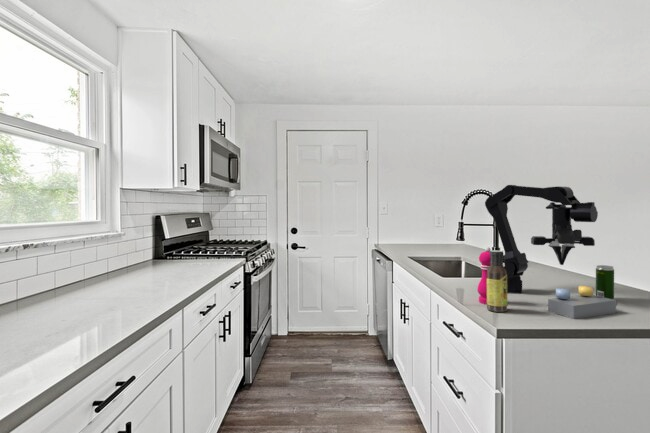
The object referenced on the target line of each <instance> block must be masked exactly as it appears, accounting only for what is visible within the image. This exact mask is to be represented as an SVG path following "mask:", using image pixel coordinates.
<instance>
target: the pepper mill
mask: <svg viewBox="0 0 650 433" xmlns="http://www.w3.org/2000/svg"><path fill="white" fill-rule="evenodd" d="M484 249H485V250H484V251H482V252H481V253H480V254H479V256H478V261H479V262H480V269H481V278H480V280H479V282H478V285H477V293H478V294H479V296H478V302H479V303H480V304H483V303H484V304H483V305H487V270H488V268H489V267H490V265H491V263H490V262H491V256H490V251H491V247H489V246H487V247H485V248H484Z"/></svg>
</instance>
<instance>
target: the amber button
mask: <svg viewBox="0 0 650 433" xmlns="http://www.w3.org/2000/svg"><path fill="white" fill-rule="evenodd" d="M578 295H583V297H586V298H587V297H589V296H593V295H594V287H593V286H589V285H578Z"/></svg>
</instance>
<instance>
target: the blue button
mask: <svg viewBox="0 0 650 433" xmlns="http://www.w3.org/2000/svg"><path fill="white" fill-rule="evenodd" d="M570 296H571V290H570V289H568V288H558V287H557V288H555V298H560V300H566V299H570Z"/></svg>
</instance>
